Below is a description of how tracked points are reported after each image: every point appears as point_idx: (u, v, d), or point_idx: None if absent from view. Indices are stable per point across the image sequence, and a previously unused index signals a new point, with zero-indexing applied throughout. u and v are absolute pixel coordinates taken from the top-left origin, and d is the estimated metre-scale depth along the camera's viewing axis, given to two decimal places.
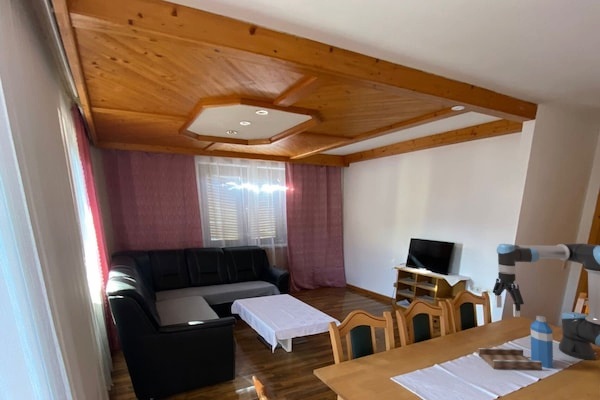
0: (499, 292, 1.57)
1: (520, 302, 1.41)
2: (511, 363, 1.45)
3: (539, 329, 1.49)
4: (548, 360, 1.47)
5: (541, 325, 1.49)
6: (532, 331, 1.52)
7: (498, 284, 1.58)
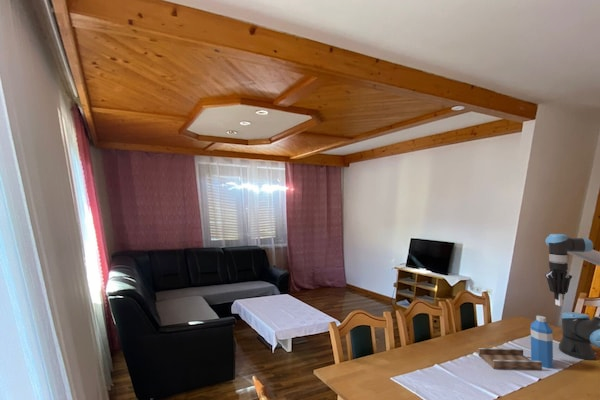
0: (559, 287, 1.52)
1: (551, 289, 1.52)
2: (511, 363, 1.45)
3: (539, 329, 1.49)
4: (548, 360, 1.47)
5: (541, 325, 1.49)
6: (532, 331, 1.52)
7: (565, 279, 1.52)
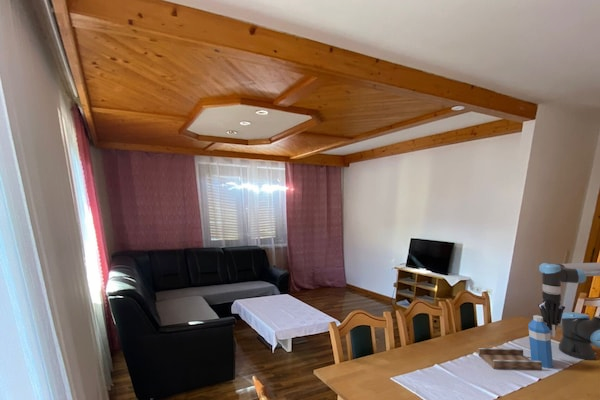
0: (552, 318, 1.52)
1: (544, 320, 1.52)
2: (511, 363, 1.45)
3: (537, 329, 1.48)
4: (547, 360, 1.46)
5: (538, 325, 1.49)
6: (530, 331, 1.52)
7: (558, 310, 1.52)
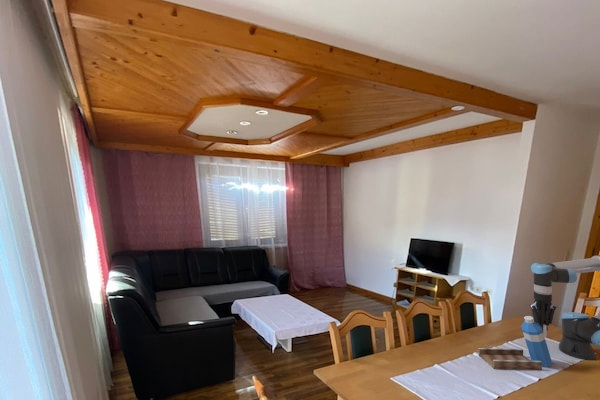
0: None
1: (536, 320, 1.52)
2: (511, 363, 1.45)
3: (529, 331, 1.47)
4: (545, 359, 1.46)
5: (530, 327, 1.48)
6: (523, 333, 1.51)
7: (549, 310, 1.52)
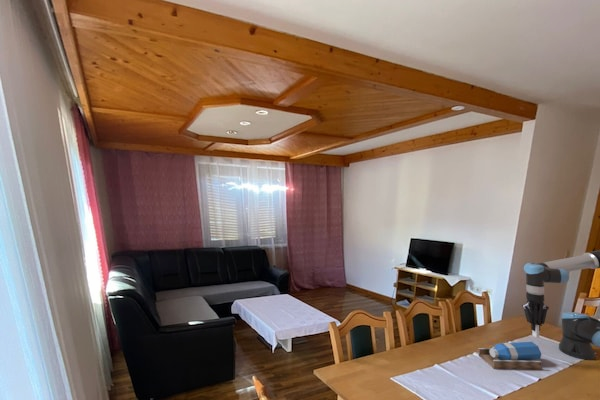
0: (536, 318, 1.52)
1: None
2: (511, 363, 1.45)
3: None
4: (534, 353, 1.48)
5: (502, 357, 1.47)
6: None
7: (542, 310, 1.52)
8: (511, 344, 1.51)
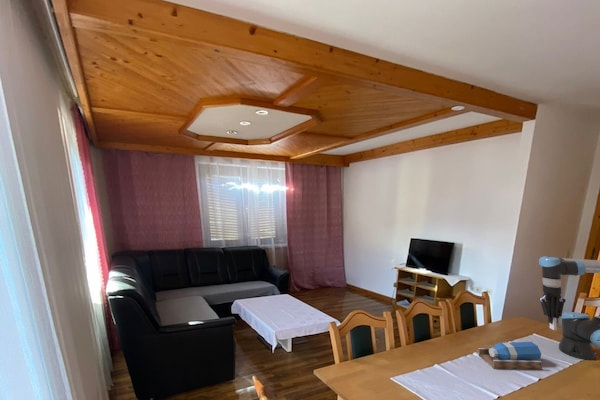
0: (553, 311, 1.52)
1: None
2: (511, 363, 1.45)
3: (506, 359, 1.47)
4: (534, 352, 1.48)
5: (501, 356, 1.48)
6: None
7: None
8: (510, 343, 1.52)
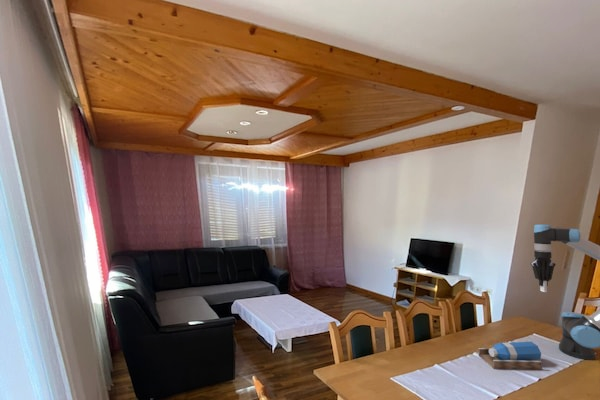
0: None
1: (536, 277, 1.61)
2: (511, 363, 1.45)
3: (506, 359, 1.47)
4: (534, 352, 1.48)
5: (501, 356, 1.48)
6: None
7: (549, 267, 1.61)
8: (510, 343, 1.52)
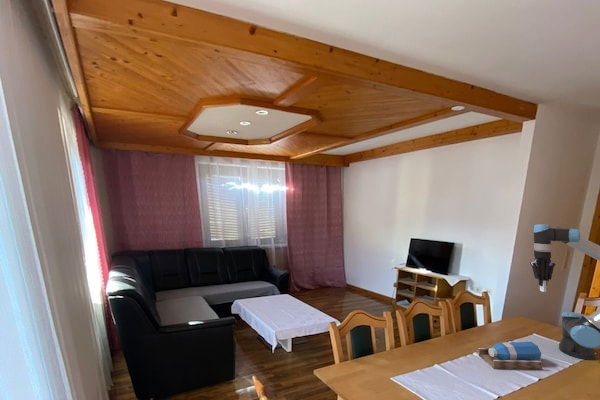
0: (543, 274, 1.61)
1: (536, 276, 1.61)
2: (511, 363, 1.45)
3: (506, 359, 1.47)
4: (534, 352, 1.48)
5: (501, 356, 1.48)
6: None
7: None
8: (510, 343, 1.52)
